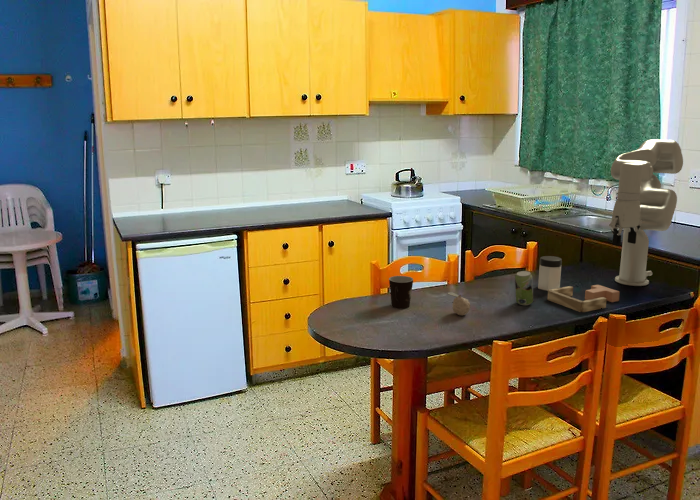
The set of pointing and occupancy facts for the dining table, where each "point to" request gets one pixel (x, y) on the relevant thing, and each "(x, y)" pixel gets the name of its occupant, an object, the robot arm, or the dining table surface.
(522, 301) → the beverage can
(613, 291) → the t block
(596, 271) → the dining table surface
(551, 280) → the jar
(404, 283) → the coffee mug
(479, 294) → the dining table surface
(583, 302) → the dock
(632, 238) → the robot arm
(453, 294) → the butter knife
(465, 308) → the garlic bulb
